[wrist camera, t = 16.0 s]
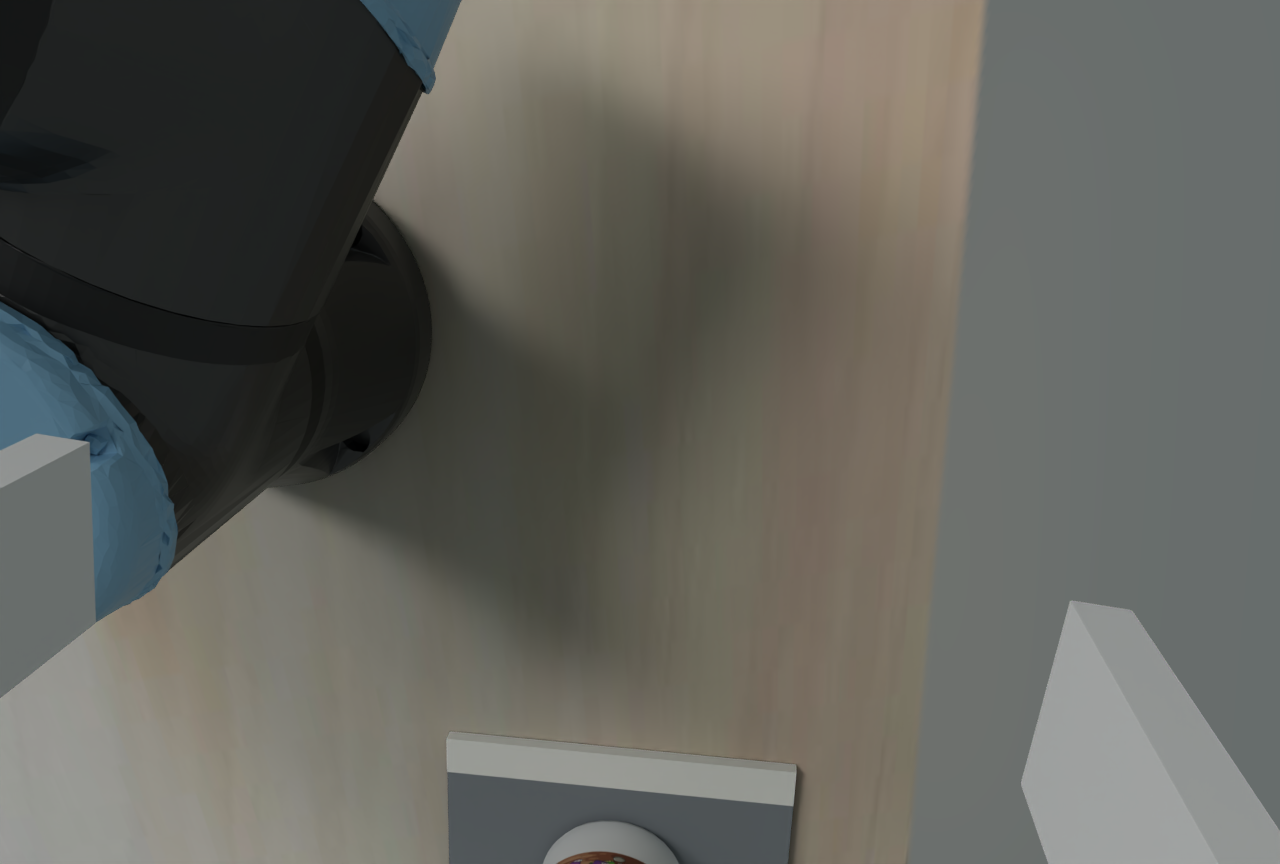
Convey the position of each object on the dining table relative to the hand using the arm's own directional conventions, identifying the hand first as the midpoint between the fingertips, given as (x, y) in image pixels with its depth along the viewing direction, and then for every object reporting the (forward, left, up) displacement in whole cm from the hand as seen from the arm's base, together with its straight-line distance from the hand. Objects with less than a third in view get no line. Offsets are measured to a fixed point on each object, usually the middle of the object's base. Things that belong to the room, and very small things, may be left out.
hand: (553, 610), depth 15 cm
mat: (-3, -33, -36) cm, 49 cm away
